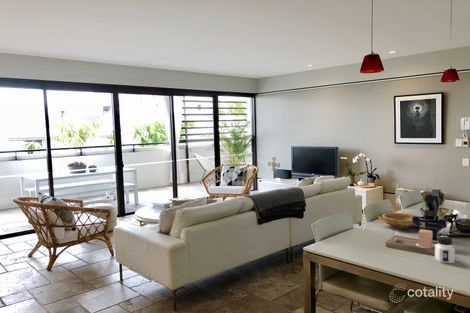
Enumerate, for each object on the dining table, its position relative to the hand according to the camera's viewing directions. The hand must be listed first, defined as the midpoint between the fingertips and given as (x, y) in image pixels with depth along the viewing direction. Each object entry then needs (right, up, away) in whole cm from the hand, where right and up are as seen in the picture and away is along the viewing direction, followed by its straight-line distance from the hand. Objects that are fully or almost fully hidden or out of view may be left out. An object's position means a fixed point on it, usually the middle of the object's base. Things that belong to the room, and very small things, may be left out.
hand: (427, 233), depth 223 cm
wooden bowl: (+4, -5, +47) cm, 47 cm away
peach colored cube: (-4, -6, -6) cm, 9 cm away
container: (-2, -10, -22) cm, 24 cm away
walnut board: (-8, -9, +1) cm, 12 cm away
